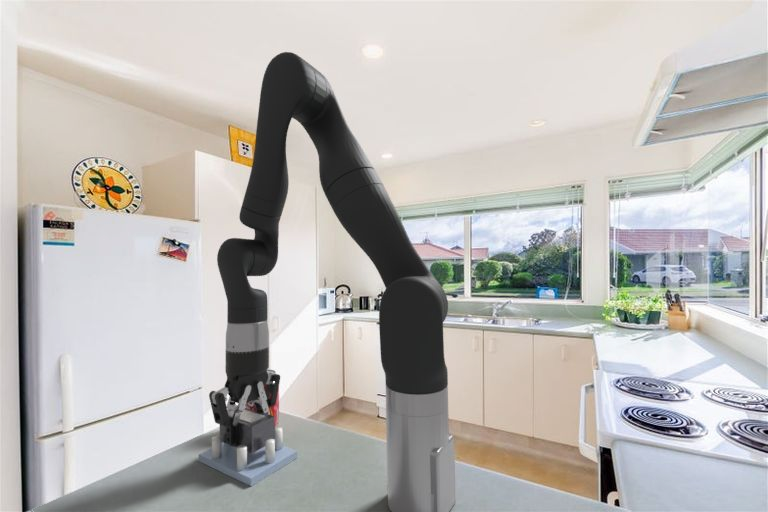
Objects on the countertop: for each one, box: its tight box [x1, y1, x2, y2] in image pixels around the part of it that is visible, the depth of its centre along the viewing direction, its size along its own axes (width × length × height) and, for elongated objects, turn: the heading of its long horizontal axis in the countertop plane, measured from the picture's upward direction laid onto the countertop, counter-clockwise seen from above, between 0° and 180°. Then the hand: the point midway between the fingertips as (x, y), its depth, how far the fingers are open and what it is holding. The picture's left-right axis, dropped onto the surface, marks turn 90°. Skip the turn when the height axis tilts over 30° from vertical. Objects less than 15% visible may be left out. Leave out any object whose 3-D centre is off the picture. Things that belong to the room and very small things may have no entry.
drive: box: [219, 408, 276, 453], centre depth 64 cm, size 9×5×5 cm, turn 59°
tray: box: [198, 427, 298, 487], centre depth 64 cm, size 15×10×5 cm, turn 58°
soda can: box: [245, 369, 280, 427], centre depth 78 cm, size 7×7×12 cm
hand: (247, 438), depth 64 cm, fingers closed on drive, 5 cm apart
